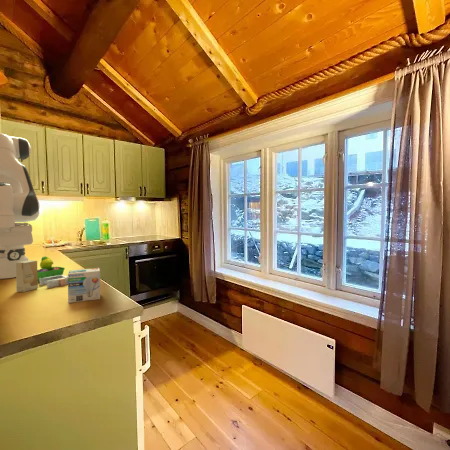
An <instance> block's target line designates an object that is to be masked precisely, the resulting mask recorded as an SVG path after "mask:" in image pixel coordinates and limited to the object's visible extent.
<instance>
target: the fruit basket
mask: <svg viewBox="0 0 450 450" xmlns="http://www.w3.org/2000/svg"><path fill="white" fill-rule="evenodd" d="M53 265H54V261H53V260H52V259H51V258H50V257H49V256H42V257H41V260H40V264H39V267H40V269H37V277H38V282H40V278H45V277H51V276H57V275H64V271H65V269H66V268H65V267H61V266H53Z"/></svg>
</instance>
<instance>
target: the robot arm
mask: <svg viewBox="0 0 450 450" xmlns="http://www.w3.org/2000/svg"><path fill="white" fill-rule="evenodd" d="M31 154H32V147H31V145H30V143H29V141H28V140H27V139H26V138H23V137H17V136H11V135H7V134H4V133H1V132H0V280H2V279H11V278H16V262H22V261H29V260H30V259H29V257H27V256H26V248H25V246H27V245H29V246H30V245H32V244H33V242H34V239H33V234H32V232H33V226H32V224H31V223H29V222H32V221H36V220H37V219H38V217H39V216H40V201H39V199H38V197H37V195H36V192H35V190H34V186H33V183H32V180H31V177H30V174H29V171H28V169H27V166H25V165H24V164H22V162H23V161H24V160H27V159H29V157H30V156H31ZM19 159H20V161H19Z"/></svg>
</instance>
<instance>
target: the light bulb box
mask: <svg viewBox="0 0 450 450" xmlns="http://www.w3.org/2000/svg"><path fill="white" fill-rule="evenodd" d="M67 276H68V284H67V297H68V299H67V302H68V303H69V304H71V303H79V302H87V301H94V300H101V269H100V267H96V268H95V267H94V268H85V269H83V268H82V269H74V270H73V269H72V270H69V271H68V273H67Z"/></svg>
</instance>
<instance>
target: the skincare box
mask: <svg viewBox="0 0 450 450" xmlns="http://www.w3.org/2000/svg"><path fill="white" fill-rule="evenodd" d="M37 270H38V260H31V259H29V261H22V262H16V277H15V279H16V280H15V281H16V283H15V284H16V285H15V288H16V291H15V292H18V293H19V292H21V293H22V292H23V293H26V292H30V291H33V290H36V289H38V288H39V287H38V286H39V285H38V283H39V281H38V277H37Z"/></svg>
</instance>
